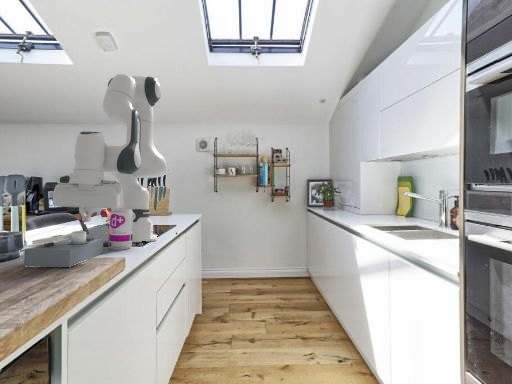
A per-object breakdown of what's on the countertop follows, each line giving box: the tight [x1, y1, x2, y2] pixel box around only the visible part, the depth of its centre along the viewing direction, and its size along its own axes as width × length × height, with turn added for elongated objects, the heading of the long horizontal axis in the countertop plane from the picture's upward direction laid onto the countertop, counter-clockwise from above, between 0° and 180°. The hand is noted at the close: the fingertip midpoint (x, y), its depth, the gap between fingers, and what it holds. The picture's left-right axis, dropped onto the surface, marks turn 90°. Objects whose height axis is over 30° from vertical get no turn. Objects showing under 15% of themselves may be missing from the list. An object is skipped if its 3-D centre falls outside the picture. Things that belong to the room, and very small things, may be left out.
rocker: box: [31, 234, 66, 245], centre depth 91 cm, size 4×7×1 cm, turn 94°
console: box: [23, 236, 104, 267], centre depth 97 cm, size 22×12×6 cm, turn 4°
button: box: [70, 230, 87, 245], centre depth 97 cm, size 4×4×4 cm
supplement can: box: [108, 208, 133, 251], centre depth 120 cm, size 8×8×15 cm
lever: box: [76, 214, 90, 236], centre depth 103 cm, size 2×2×7 cm
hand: (86, 221), depth 103 cm, fingers closed
